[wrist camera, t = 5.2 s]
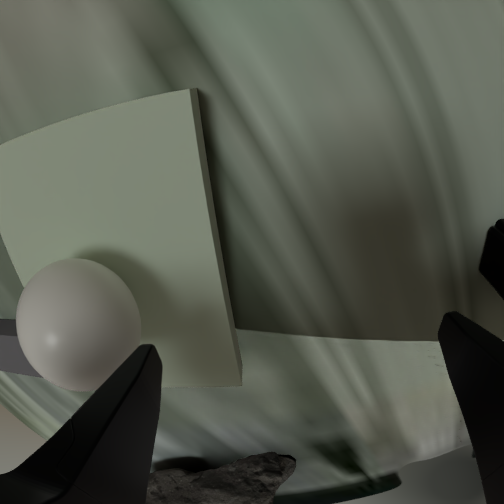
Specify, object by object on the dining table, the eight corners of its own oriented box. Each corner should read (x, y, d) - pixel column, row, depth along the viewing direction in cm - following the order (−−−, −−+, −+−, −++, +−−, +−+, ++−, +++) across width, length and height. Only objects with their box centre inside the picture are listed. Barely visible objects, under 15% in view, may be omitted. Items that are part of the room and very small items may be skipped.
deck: (196, 87, 10) (189, 88, 9) (242, 364, 17) (242, 386, 16) (-74, 183, 11) (-90, 193, 10) (8, 356, 18) (0, 370, 17)
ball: (110, 221, 12) (126, 282, 8) (142, 316, 15) (173, 392, 11) (6, 260, 10) (-20, 335, 6) (52, 348, 13) (57, 430, 9)
